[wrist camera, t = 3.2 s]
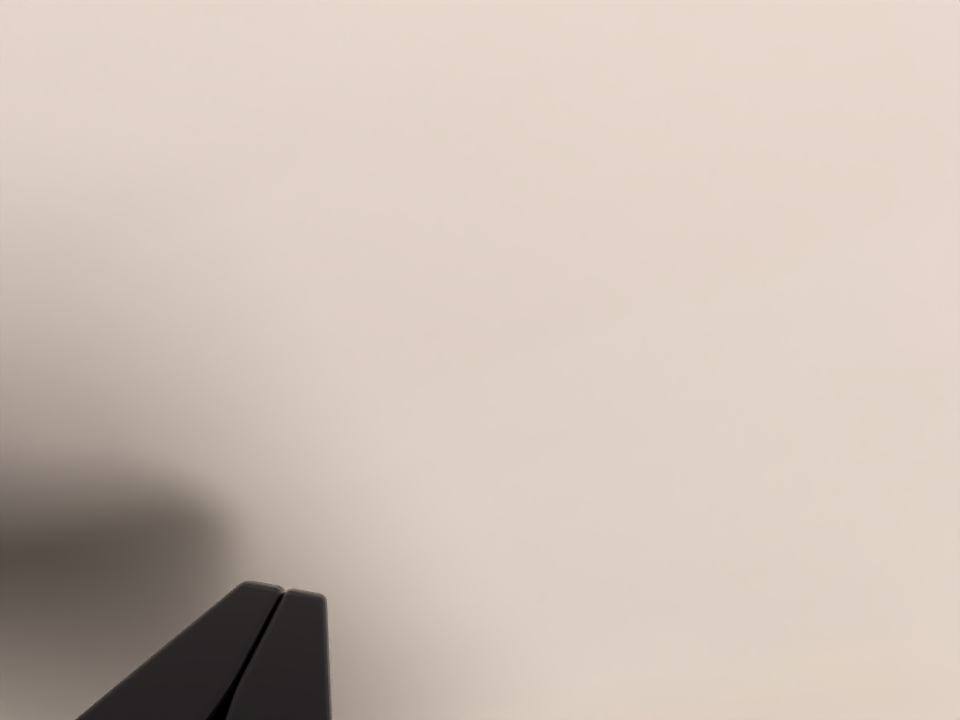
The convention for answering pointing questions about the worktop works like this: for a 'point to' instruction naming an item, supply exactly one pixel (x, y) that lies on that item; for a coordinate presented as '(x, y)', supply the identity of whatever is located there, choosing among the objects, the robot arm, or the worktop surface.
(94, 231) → the worktop surface
